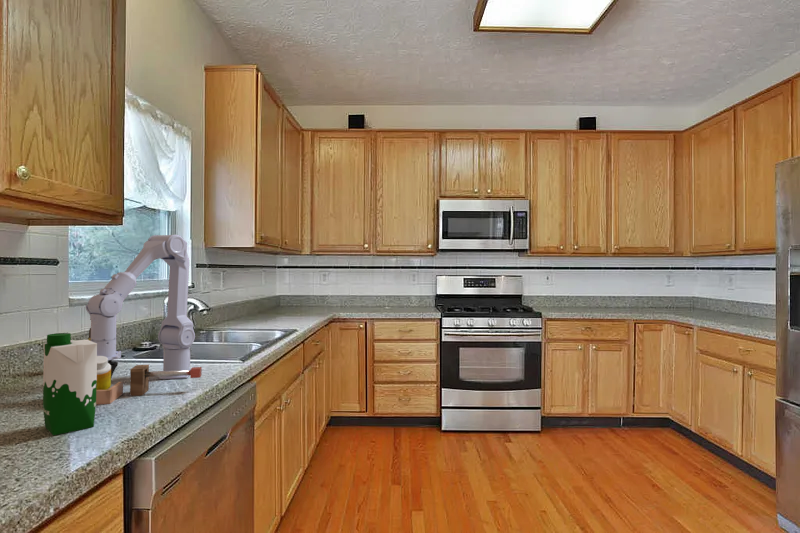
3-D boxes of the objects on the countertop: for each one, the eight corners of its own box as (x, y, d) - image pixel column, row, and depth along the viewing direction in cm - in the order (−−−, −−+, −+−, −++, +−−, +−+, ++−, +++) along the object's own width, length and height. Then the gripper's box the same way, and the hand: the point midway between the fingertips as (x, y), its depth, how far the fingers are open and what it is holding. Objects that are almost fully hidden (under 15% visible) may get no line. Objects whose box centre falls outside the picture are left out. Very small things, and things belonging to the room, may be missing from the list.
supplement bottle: (115, 390, 122) (116, 356, 119) (101, 402, 116) (101, 366, 113) (94, 386, 122) (95, 352, 119) (79, 397, 116) (79, 362, 113)
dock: (80, 395, 120) (80, 383, 120) (122, 393, 123) (123, 381, 123) (64, 406, 112) (64, 392, 112) (110, 403, 114) (110, 390, 114)
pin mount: (136, 390, 126) (136, 364, 126) (148, 390, 127) (148, 364, 127) (130, 396, 121) (130, 369, 121) (142, 395, 122) (142, 368, 122)
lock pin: (136, 378, 125) (136, 369, 125) (201, 375, 128) (201, 367, 128) (133, 380, 122) (134, 371, 122) (199, 377, 126) (199, 368, 126)
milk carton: (38, 427, 97) (40, 333, 97) (88, 417, 104) (90, 329, 104) (48, 438, 91) (49, 338, 91) (100, 426, 98) (102, 333, 98)
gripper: (104, 344, 115) (103, 398, 115) (132, 335, 130) (131, 383, 130) (74, 344, 115) (74, 398, 115) (106, 335, 129) (105, 383, 129)
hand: (102, 390), depth 122 cm, fingers closed
